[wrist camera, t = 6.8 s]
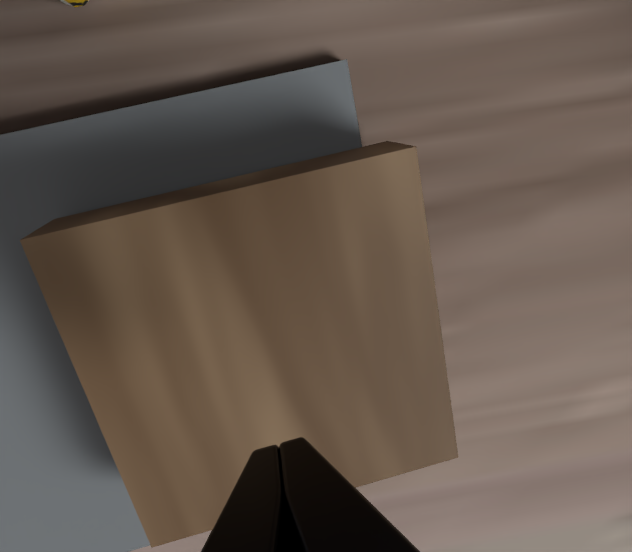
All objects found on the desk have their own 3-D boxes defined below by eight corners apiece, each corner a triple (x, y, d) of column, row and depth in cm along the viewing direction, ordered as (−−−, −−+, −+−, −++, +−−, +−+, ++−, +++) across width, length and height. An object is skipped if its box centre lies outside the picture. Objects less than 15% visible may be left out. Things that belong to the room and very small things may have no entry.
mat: (343, 60, 12) (346, 59, 12) (412, 458, 16) (417, 466, 16) (-279, 196, 11) (-297, 199, 10) (-35, 589, 15) (-41, 601, 14)
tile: (415, 146, 10) (19, 240, 10) (458, 457, 13) (151, 547, 12) (383, 140, 12) (57, 216, 12) (426, 408, 15) (163, 483, 14)
